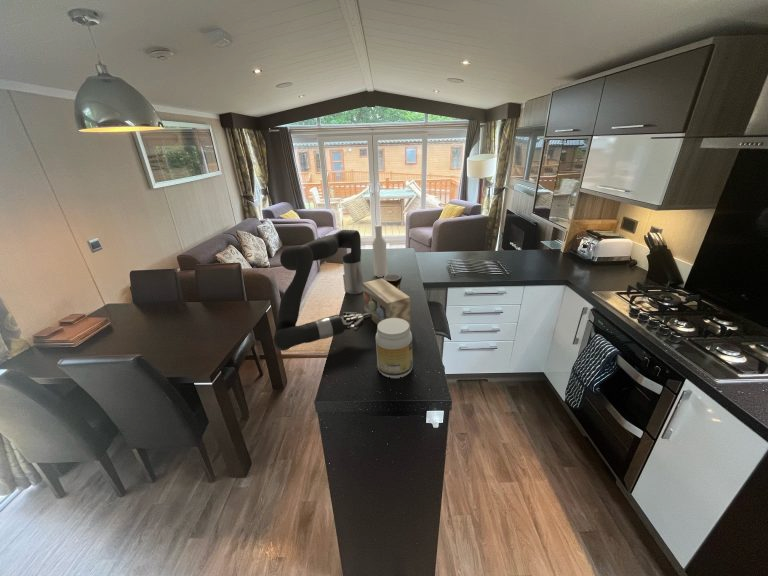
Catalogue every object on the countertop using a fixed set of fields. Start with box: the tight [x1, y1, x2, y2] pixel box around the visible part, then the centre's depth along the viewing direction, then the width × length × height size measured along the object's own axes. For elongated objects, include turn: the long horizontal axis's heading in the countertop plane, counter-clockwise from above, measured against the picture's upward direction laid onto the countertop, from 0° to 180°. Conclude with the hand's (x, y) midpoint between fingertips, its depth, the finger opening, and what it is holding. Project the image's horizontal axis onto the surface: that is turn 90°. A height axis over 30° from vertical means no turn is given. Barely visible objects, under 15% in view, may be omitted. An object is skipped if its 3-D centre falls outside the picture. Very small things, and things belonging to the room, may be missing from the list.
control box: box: [362, 277, 411, 329], centre depth 134 cm, size 10×24×15 cm, turn 27°
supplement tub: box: [375, 318, 414, 379], centre depth 103 cm, size 12×12×17 cm
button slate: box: [376, 307, 385, 319], centre depth 124 cm, size 2×4×4 cm, turn 27°
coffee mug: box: [383, 273, 403, 291], centre depth 159 cm, size 12×9×10 cm
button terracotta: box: [363, 294, 370, 304], centre depth 137 cm, size 2×4×4 cm, turn 27°
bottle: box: [372, 224, 388, 278], centre depth 181 cm, size 8×8×30 cm
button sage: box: [368, 300, 377, 311], centre depth 131 cm, size 2×4×4 cm, turn 28°
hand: (370, 315), depth 123 cm, fingers closed
